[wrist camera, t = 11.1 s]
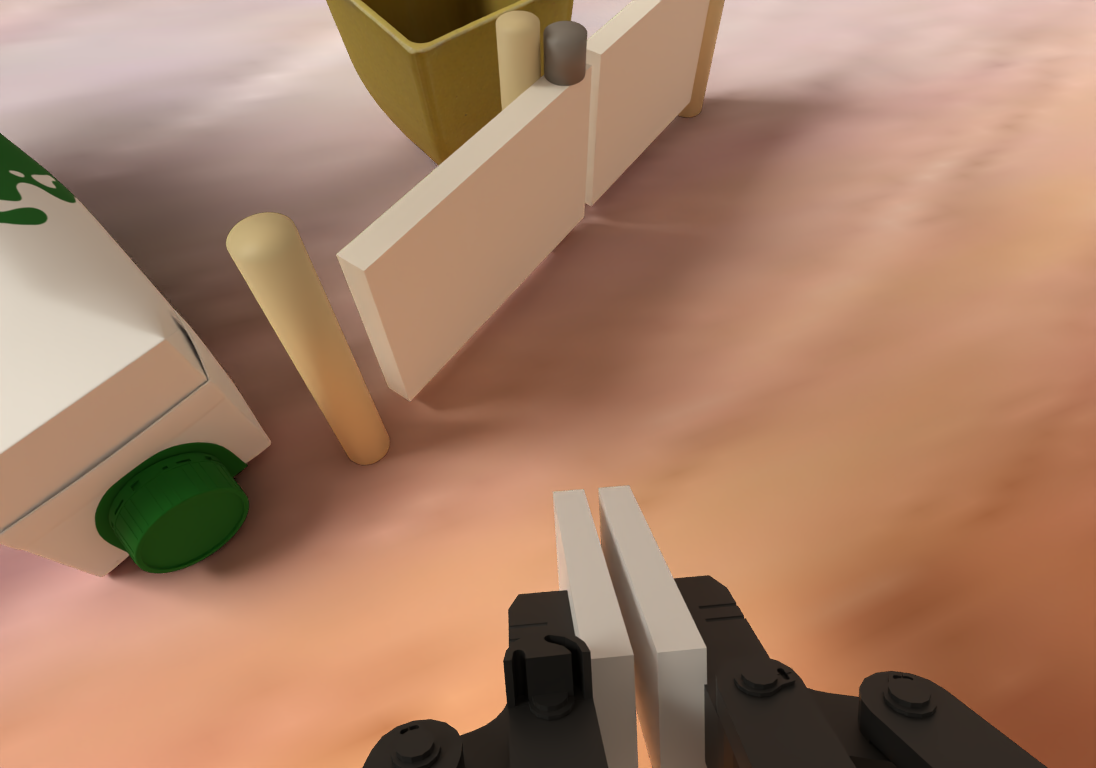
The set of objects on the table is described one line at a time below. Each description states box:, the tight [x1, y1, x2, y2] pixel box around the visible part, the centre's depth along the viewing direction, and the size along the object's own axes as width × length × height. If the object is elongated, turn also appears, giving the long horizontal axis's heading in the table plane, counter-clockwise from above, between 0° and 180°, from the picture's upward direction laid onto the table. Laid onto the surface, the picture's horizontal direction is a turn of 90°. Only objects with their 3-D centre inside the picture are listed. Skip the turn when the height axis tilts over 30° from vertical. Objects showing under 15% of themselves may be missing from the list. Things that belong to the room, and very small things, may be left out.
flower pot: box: [326, 0, 573, 165], centre depth 34 cm, size 9×9×9 cm
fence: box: [226, 0, 725, 465], centre depth 29 cm, size 28×3×12 cm, turn 145°
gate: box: [336, 21, 592, 402], centre depth 27 cm, size 13×2×10 cm, turn 145°
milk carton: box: [0, 133, 271, 577], centre depth 26 cm, size 9×9×20 cm
